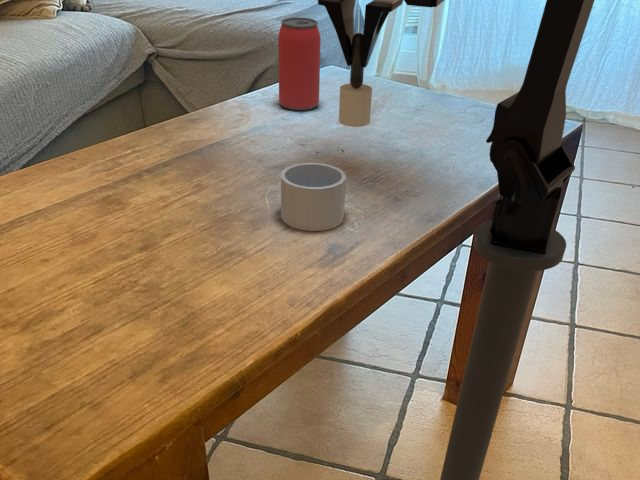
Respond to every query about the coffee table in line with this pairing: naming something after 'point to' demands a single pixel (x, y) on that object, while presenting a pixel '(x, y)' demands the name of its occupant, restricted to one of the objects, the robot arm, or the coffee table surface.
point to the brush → (355, 91)
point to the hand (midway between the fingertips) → (357, 65)
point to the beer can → (299, 63)
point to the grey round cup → (312, 196)
